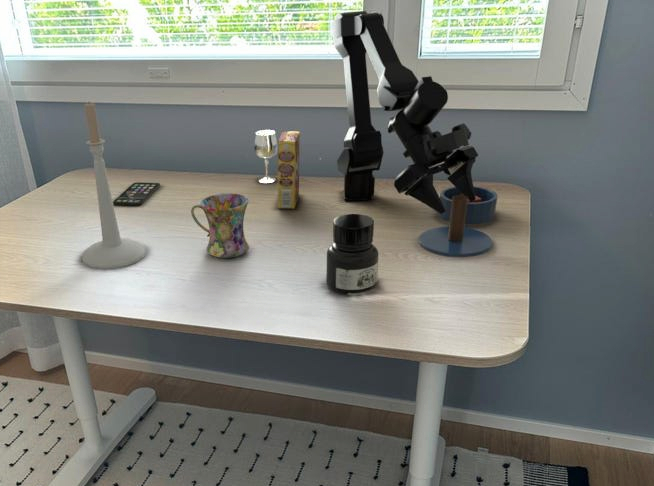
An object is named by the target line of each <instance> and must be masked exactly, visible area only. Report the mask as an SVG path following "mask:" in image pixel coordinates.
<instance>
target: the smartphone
mask: <svg viewBox="0 0 654 486" xmlns="http://www.w3.org/2000/svg"><path fill="white" fill-rule="evenodd" d="M160 186H161V184H160V183H159V182H141V181H140V182H139V181H138V182H133V183H132V184H131V185H129V186H128V187H127V188H126V189H125V190H124V191H123V192H122V193H121V194H120V195H119V196H118V197H117V198H115V199H113V200H112V201H113V206H114V205H115V206H142V204H144V203H145V201H147V200H148V199H149V198H150V196H152V194H153V193H155V192H156V191H157V190H158V189H159V187H160Z"/></svg>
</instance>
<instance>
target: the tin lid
mask: <svg viewBox="0 0 654 486" xmlns="http://www.w3.org/2000/svg"><path fill="white" fill-rule="evenodd" d="M467 203H468V197H467V196H464V195H455V196H453V199H452V207H451V216H450V222H449V226H439V227H433V228H430V229H427V230H425V231H423V232H422V233H420V235H419V236H418V243H419V245H420V247H422V248H423V249H424V250H426V251H428V252H430V253H432V254H437V255H441V256H447V257H457V258H458V257H459V258H461V257H473V256H479V255H482V254H484V253H487V252H488V251H490V249H492V246H493V239H492V238H491V236H490V235H489V234H487V233H485V232H484V231H481V230H478V229H474V228H470V227H465V225H466V224H465V219H466V211H467Z"/></svg>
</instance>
